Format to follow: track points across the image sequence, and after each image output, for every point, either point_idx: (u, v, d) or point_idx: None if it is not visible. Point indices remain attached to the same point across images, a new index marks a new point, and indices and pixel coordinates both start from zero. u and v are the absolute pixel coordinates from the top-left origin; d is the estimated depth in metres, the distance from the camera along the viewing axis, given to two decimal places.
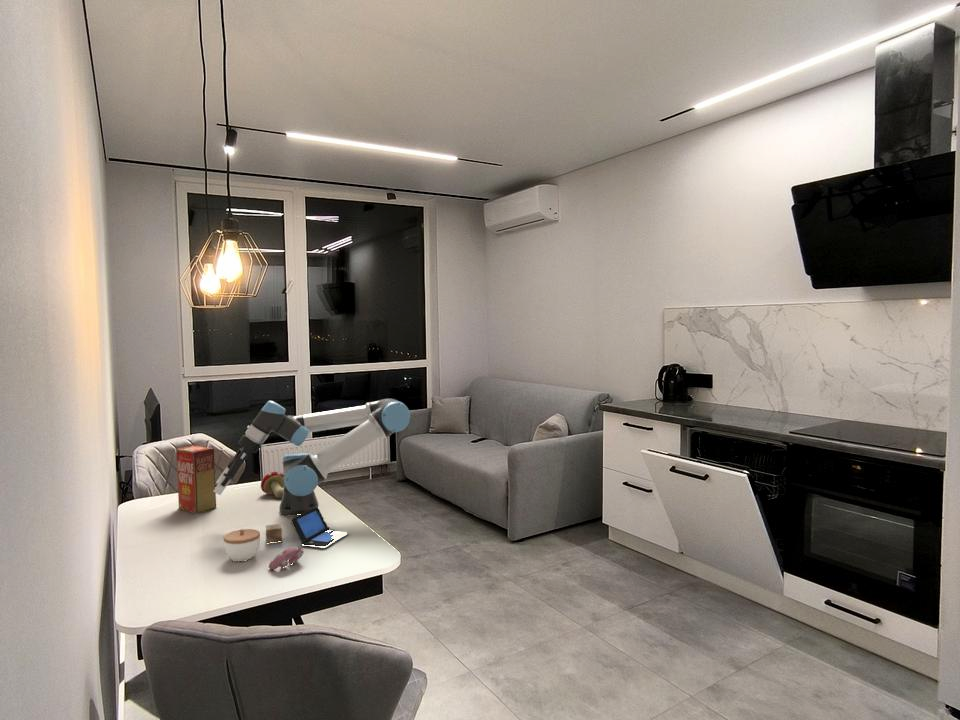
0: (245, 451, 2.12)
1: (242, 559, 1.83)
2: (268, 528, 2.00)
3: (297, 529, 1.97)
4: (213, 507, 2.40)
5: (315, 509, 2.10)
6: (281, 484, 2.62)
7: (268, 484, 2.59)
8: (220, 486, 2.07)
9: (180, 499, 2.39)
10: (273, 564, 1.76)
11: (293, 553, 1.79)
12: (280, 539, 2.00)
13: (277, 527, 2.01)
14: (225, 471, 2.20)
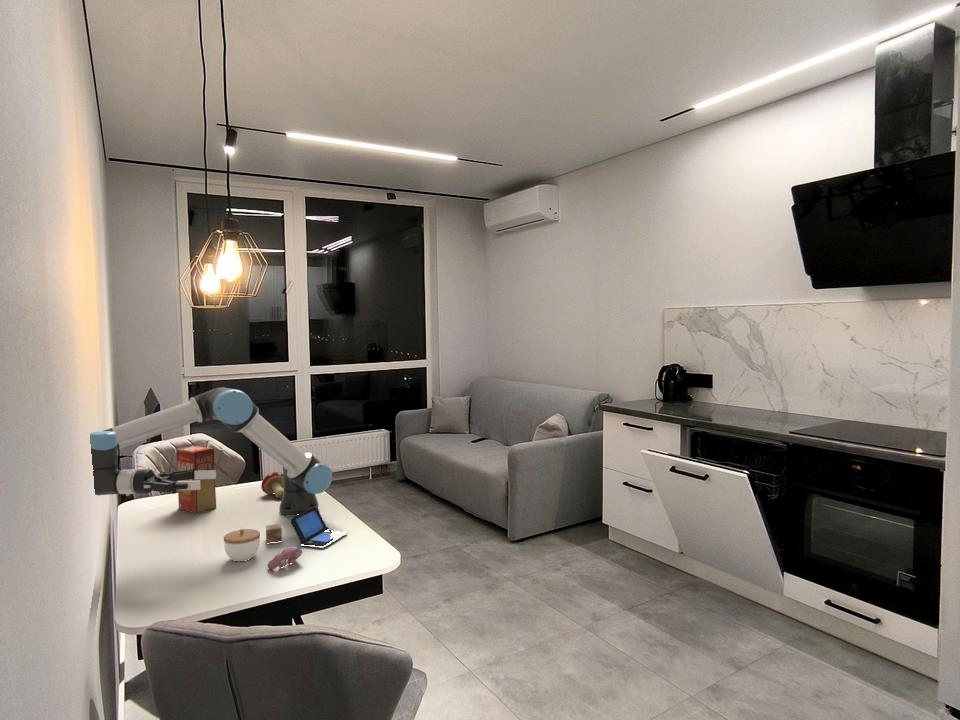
0: None
1: (242, 559, 1.83)
2: (268, 528, 2.00)
3: (296, 529, 1.97)
4: (213, 507, 2.40)
5: (314, 509, 2.10)
6: (282, 484, 2.62)
7: (269, 484, 2.58)
8: (190, 486, 1.77)
9: (180, 499, 2.39)
10: (272, 564, 1.76)
11: (292, 553, 1.79)
12: (280, 539, 2.00)
13: (277, 527, 2.01)
14: (198, 477, 1.90)
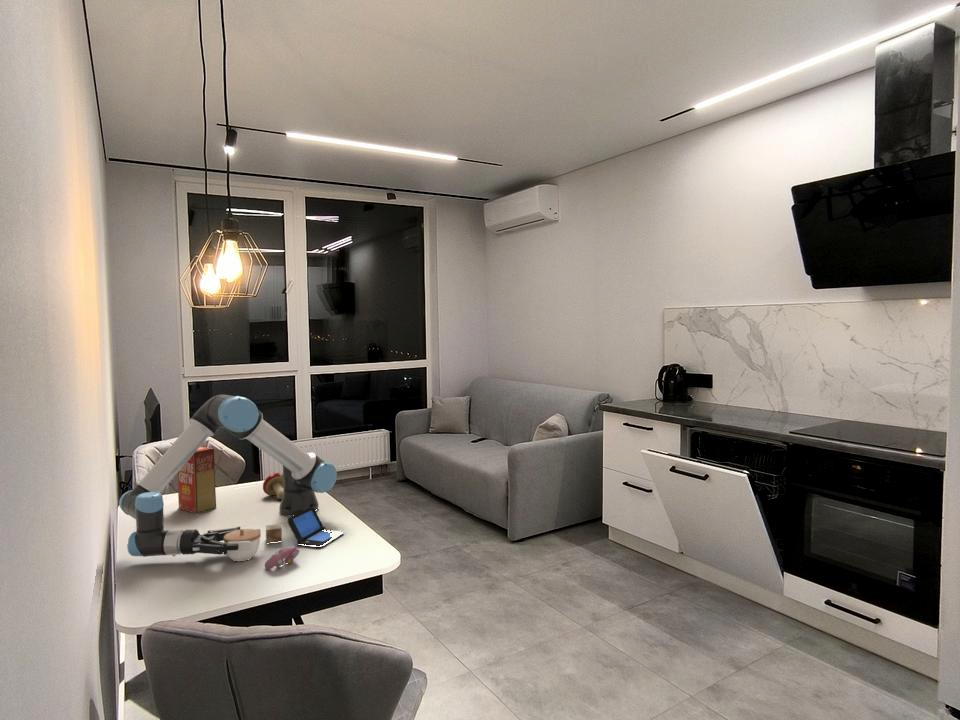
0: None
1: (242, 559, 1.83)
2: (268, 528, 2.00)
3: (293, 529, 1.98)
4: (213, 507, 2.40)
5: (311, 509, 2.10)
6: None
7: (270, 485, 2.57)
8: (240, 547, 1.80)
9: (180, 499, 2.39)
10: (269, 563, 1.76)
11: (289, 552, 1.80)
12: (280, 539, 2.00)
13: (277, 527, 2.01)
14: None
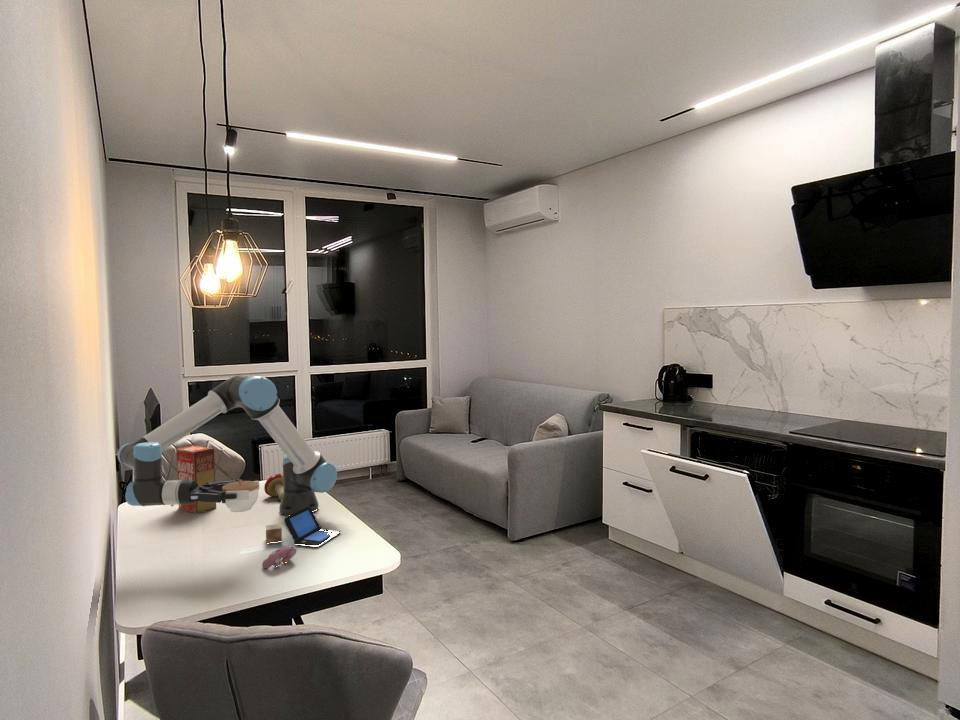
0: None
1: (240, 509, 1.82)
2: (268, 528, 2.00)
3: (290, 528, 1.98)
4: (213, 507, 2.40)
5: (307, 508, 2.11)
6: None
7: (272, 486, 2.55)
8: (239, 496, 1.80)
9: None
10: (267, 562, 1.77)
11: (286, 552, 1.80)
12: (280, 539, 2.00)
13: (277, 527, 2.01)
14: None
